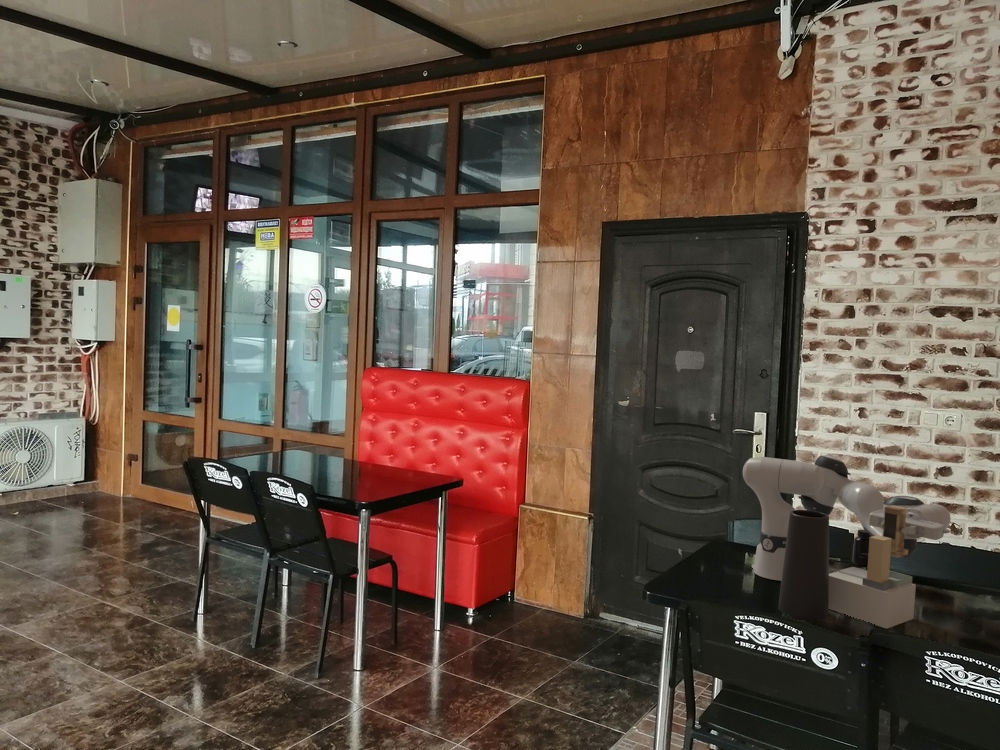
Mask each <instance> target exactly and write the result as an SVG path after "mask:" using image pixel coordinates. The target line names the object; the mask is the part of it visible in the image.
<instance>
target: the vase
mask: <svg viewBox="0 0 1000 750" xmlns="http://www.w3.org/2000/svg"><path fill="white" fill-rule="evenodd" d="M829 574H830V516H829V515H827V514H824V513H821V512H816V511H810V510H806V509H795V510H793V511H791V512H790V516H789V524H788V532H787V540H786V548H785V556H784V564H783V572H782V580H781V581H780V588H779V589H780V590H779V598H778V604H777V605H778V607H777V608H778V611H779V610H780V611H781V612H783V613H785V614H788V615H790V616H792V617H791V618H793V617H796V618H795V619H797V620H802V621H815V622H817V621H823V619H824V620H827V619H828V618H829V613H830V612H829V611H830V610H828V609H829ZM780 611H779V612H780ZM781 612H780V613H781ZM783 613H782V614H783ZM785 614H784V615H785ZM790 616H789V617H790ZM827 617H828V618H827Z"/></svg>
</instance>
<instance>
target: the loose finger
mask: <svg viewBox="0 0 1000 750" xmlns="http://www.w3.org/2000/svg"><path fill="white" fill-rule="evenodd" d="M906 509H907V508H903V507H898V506H894V505H892V506H887V507H885V513H884V527H883V537H888V538H892V541H891V555H890V557H891V558H897V559H898V558H903V557H902V556H906V555H908V550H907V549H904V536H905V534H902V533H900V527H902V526H903V527H905V522H906Z"/></svg>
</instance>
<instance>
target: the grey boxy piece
mask: <svg viewBox="0 0 1000 750" xmlns="http://www.w3.org/2000/svg"><path fill="white" fill-rule="evenodd" d="M891 541H892V538H888V537H883V536H879V535H877V536H872V537H870V539H869V553H868V567H866V568H867V570H866V569H863V568H860V567H855V566H851V567H847V568H843V569H839V570H837V571H834V572H829V609H831V610H835V611H838V612H840V613H844V614H846V615H845V616H847V615H848V616H847V617H850V616H851V617H850V618H853V617H854V618H853V619H856V618H857V619H856V620H859V619H861V620H860V621H862V620H864V621H863V622H865V621H866V623H868V622H870V623H869V624H871V623H872V624H871V625H874V624H875V625H874V626H877V627H880V628H883V629H886V630H887V629H890V628H892V627H895V626H898V625H900V624H903V623H906V622H908V621H911V620H913V619H914V615H915V613H914V612H915V599H916V587H917V584H914V583H913V576H912V575H908V574H904V573H901V572H897V571H893V570H890V569H891V568H890V565H891V556H890V555H891ZM831 610H830V611H831ZM840 613H839V614H840ZM844 614H843V615H844Z"/></svg>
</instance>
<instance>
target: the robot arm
mask: <svg viewBox="0 0 1000 750" xmlns="http://www.w3.org/2000/svg"><path fill="white" fill-rule="evenodd" d="M848 476H851V473H850V472H849V470H848V467H847V465H846V464H845V463H844V461H842V460H841V459H840V458H838V457H836V456H834V455H829V454H828V455H827V454H826V455H820V456H818V457H817V458H816V460H815V461H814V464H813V463H810V462H805V461H803V460H793V459H792V460H791V459H784V458H783V459H782V458H776V457H768V456H767V457H766V456H757V457H749V459H747V460H746V461H745V462H744V465H743V468H742V477H743V478H742V479H743V481H744V483H746V485H747V486H748V487H749V488H751V490H752V491H753V492H754V493H755V495H756V496H757V498H758V501H759V504H760V507H761V508H760V509H761V530H760V532H759V536H758V537H759V544H758V545H757V546H756V551H755V558H754V563H753V564H751V567H752V568H753V569H752V568H751V569H752V570H753V573H754V574H755V575H757V576H759V577H761V578H764V579H768V580H774V581H780V582H781V580H782V572H783V564H784V556H785V548H786V540H787V532H788V524H789V516H790V512H791V511H793V510H796V508H795V507H794V506H792V505H791V504H790V503H788V502H787V501H785V500H784V499H783V497H782V495H781V494H782V493H783V494H788V495H789V494H790V495H797V497H798V499H799V500H800V503H801V505H802V507H803V508H804V510H810V511H816V512H821V513H824V514H827V515H828V516H829V515H830V514H832V511H833V510H834V506H835V504H836V502H837V499H838V501H839V502H840V504H841V505H842V506H843V507H844V508H845V509H847V510H848V511H849V512H851V513H853V514H854V515H855V516H856V518H857V519H858V521H859V523H860V524H861V526H862V528H863V530H865V531H866V532H867V533H868V534H869V535H871V536H877V535H879V536H883V527H884V513H885V507H887V506H892V505H894V506H898V507H903V508H907V509H906V522H905V527H903V526H902V527H900V533H902V534H905V536H904V549H907V550H908V555H906V556H902V557H901V558H907V557H910V556H911V555H913V554H914V553H915V552H917V550H918V539H921V538H923V539H924V538H925V539H928V540H933V541H937V540H940V539H942V538H943V537H944V534H949V533H950V532H951V530H950V529H949V528H948V527H949V526H950V523H951V521H952V520H951V513H950V512H949V510H948V509H947V507H945V506H943V505H941V504H936V503H934V504H933V503H928V504H927V503H924V502H923V501H922V500H921V499H919V498H917V497H913V496H909V495H897V496H896V495H895V496H891V497H888V498H887V499H886V500H885V499H884V496H883V494H882V492H881V491H880V490H879V489H878V488H877V487H875V486H874V485H871V484H869V483H867V482H866V483H865V482H862V481H854V480H851V479H849V477H848Z"/></svg>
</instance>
